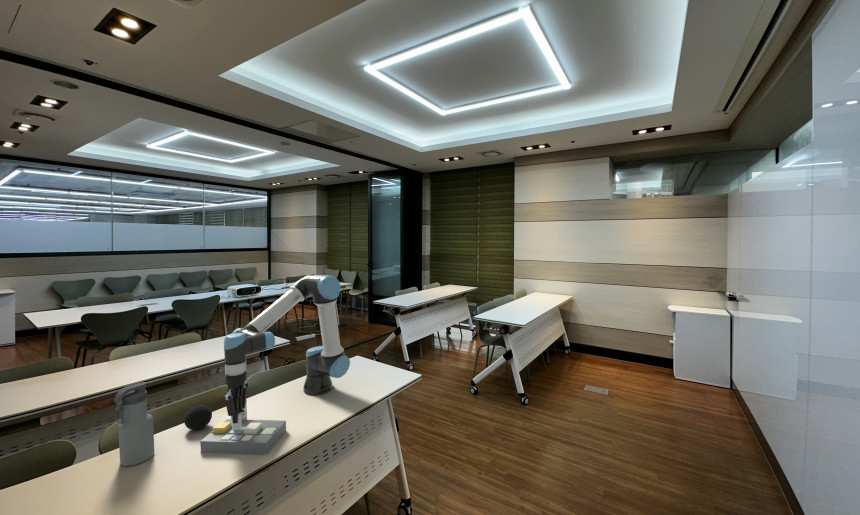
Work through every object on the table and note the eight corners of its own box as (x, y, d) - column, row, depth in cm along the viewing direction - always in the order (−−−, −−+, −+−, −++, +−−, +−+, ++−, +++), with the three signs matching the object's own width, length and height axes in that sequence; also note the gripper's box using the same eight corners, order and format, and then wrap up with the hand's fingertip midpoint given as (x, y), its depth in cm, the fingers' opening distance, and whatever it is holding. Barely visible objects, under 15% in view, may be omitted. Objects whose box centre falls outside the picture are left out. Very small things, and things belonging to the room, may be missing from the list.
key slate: (235, 432, 140) (235, 426, 140) (246, 432, 140) (246, 426, 140) (228, 438, 136) (228, 432, 135) (239, 438, 135) (239, 433, 135)
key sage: (266, 433, 139) (266, 427, 139) (277, 433, 139) (277, 427, 139) (260, 439, 135) (260, 433, 135) (271, 439, 135) (271, 434, 135)
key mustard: (220, 427, 140) (220, 421, 140) (231, 427, 140) (231, 422, 140) (213, 433, 136) (212, 427, 136) (224, 434, 136) (223, 428, 135)
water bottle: (124, 471, 120) (120, 394, 118) (114, 462, 125) (110, 387, 123) (159, 456, 128) (155, 383, 127) (148, 447, 133) (145, 378, 132)
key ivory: (250, 428, 140) (250, 422, 140) (261, 428, 139) (261, 422, 139) (244, 434, 135) (244, 428, 135) (255, 434, 135) (255, 429, 135)
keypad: (227, 429, 146) (227, 418, 146) (286, 430, 145) (285, 420, 145) (200, 452, 130) (200, 440, 130) (266, 454, 129) (265, 442, 129)
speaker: (203, 420, 154) (203, 398, 153) (217, 425, 149) (216, 403, 149) (179, 431, 145) (178, 408, 144) (193, 437, 140) (192, 414, 140)
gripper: (236, 366, 143) (238, 420, 144) (215, 378, 130) (217, 438, 131) (254, 366, 143) (255, 421, 144) (234, 379, 130) (236, 438, 131)
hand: (237, 429), depth 138 cm, fingers closed
